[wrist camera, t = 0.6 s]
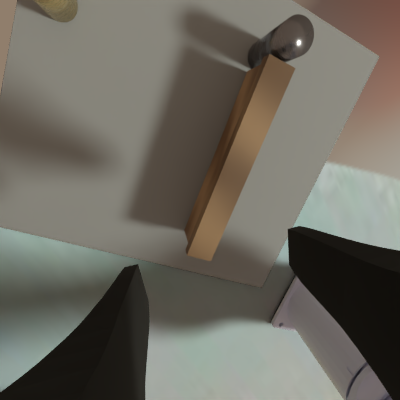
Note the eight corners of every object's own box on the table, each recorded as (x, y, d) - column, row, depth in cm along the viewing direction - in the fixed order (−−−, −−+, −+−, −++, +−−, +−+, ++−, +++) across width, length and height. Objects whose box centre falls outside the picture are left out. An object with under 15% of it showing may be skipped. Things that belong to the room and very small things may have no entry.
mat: (375, 57, 20) (379, 56, 19) (260, 286, 25) (261, 287, 24) (47, -153, 13) (45, -159, 13) (-20, 220, 18) (-23, 221, 18)
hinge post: (276, 49, 18) (320, 25, 13) (264, 77, 18) (303, 63, 14) (253, 36, 17) (290, 6, 13) (241, 65, 18) (273, 46, 13)
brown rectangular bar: (244, 67, 18) (269, 54, 14) (265, 78, 18) (295, 68, 14) (180, 230, 20) (186, 255, 17) (200, 236, 21) (210, 261, 17)
